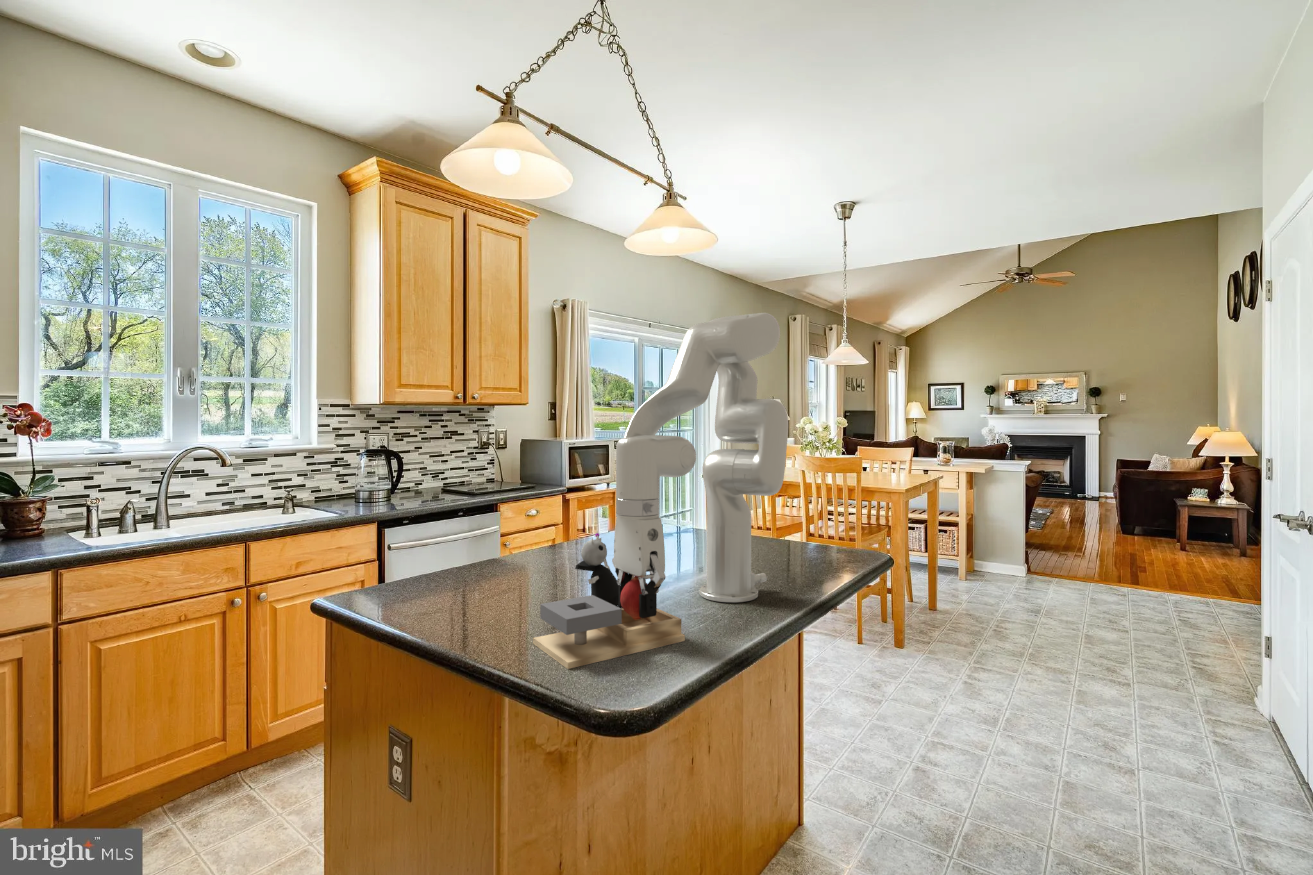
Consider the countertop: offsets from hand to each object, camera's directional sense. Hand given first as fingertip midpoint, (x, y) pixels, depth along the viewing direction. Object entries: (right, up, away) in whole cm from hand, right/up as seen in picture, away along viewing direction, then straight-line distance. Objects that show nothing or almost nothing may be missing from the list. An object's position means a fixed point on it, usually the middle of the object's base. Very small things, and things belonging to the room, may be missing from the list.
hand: (637, 610), depth 108 cm
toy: (-8, -4, +16) cm, 18 cm away
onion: (0, -2, 0) cm, 2 cm away
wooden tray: (-5, -4, -3) cm, 7 cm away
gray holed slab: (-9, 0, -6) cm, 11 cm away
